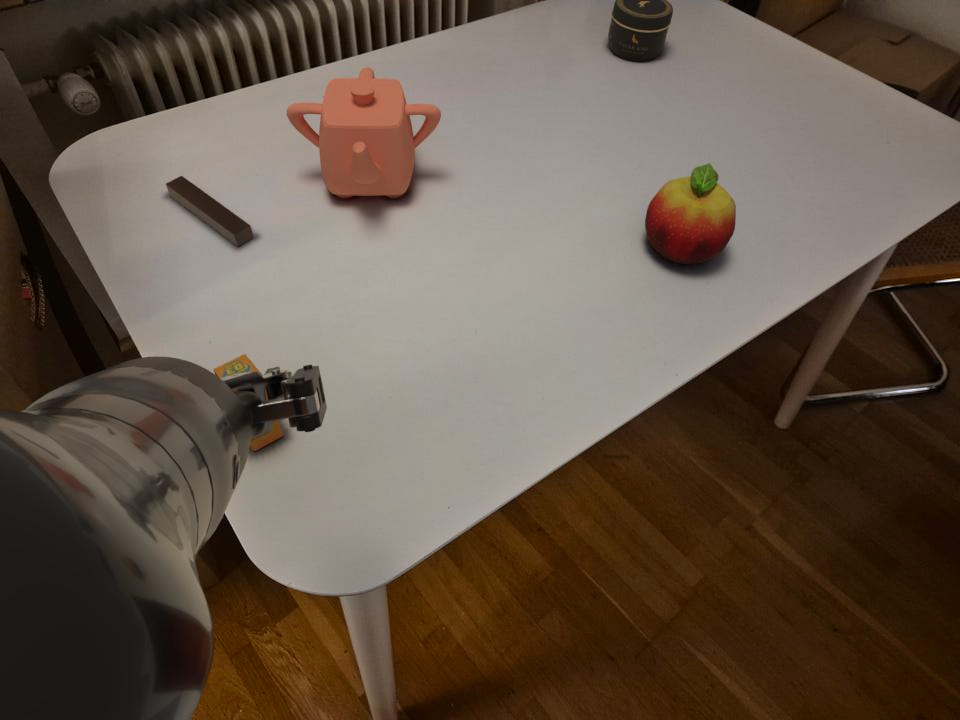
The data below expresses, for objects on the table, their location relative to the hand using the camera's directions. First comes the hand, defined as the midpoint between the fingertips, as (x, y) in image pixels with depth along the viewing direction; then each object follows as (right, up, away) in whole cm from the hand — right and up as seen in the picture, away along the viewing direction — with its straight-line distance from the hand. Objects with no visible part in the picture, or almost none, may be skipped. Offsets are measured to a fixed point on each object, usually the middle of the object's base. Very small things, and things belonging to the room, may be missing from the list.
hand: (206, 397), depth 41 cm
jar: (+44, +57, +76) cm, 105 cm away
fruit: (+43, +17, +45) cm, 64 cm away
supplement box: (-5, -5, +25) cm, 25 cm away
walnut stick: (-17, +20, +43) cm, 51 cm away
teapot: (+2, +26, +50) cm, 56 cm away
